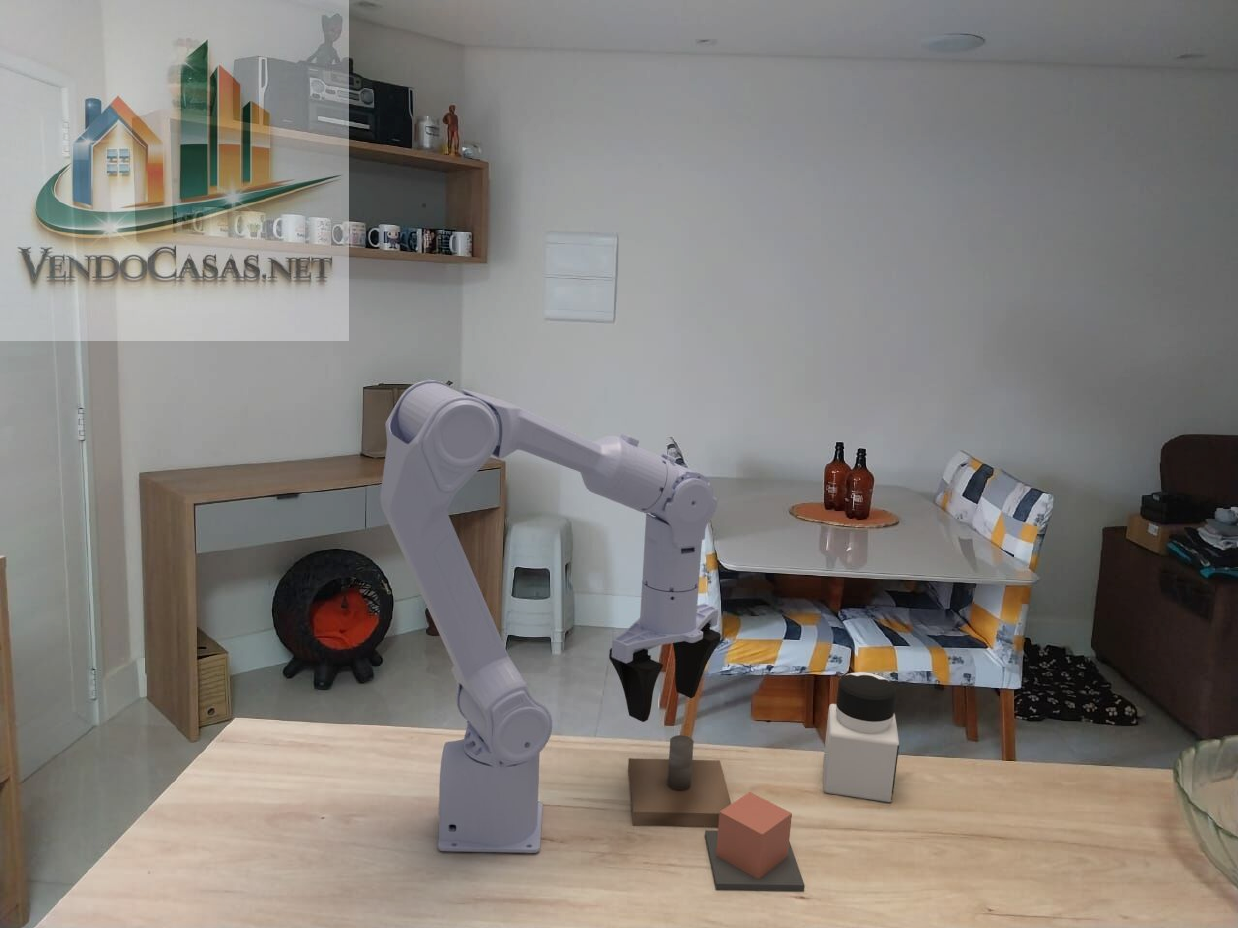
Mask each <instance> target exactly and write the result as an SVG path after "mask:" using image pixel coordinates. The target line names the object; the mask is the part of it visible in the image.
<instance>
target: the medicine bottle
mask: <svg viewBox="0 0 1238 928" xmlns="http://www.w3.org/2000/svg"><path fill="white" fill-rule="evenodd" d="M897 692H898V691H897V688H896V687H895V685H894V683H893V682H892V681H890V680H889V679H887V678H885V677H884V676H881V675H879V674H876V673H873V672H867V671H865V672H864V671H860V672H859V671H858V672H857V671H856V672H851V673H847V674H844V675H843V676H842V677H841V678H840V679H839V681H838V685H837V694H836V703H831V704H829V707H828V713H827V714H828V715H827V722H826V723H827V724H826V732H825V741H824V752H823V791H824V793H826V794H832V795H839V796H844V797H851V798H857V799H865V800H871V801H876V802H877V801H878V802H884V803H890V802H892V801H893V797H894V789H895V788H894V787H895V781H896V780H895V779H896V775H897V774H896V773H897V765H898V757H899V751H900V740H899V739H900V738H899V733H898V732H899V731H898V726H897V721H896V720H897V719H896V714H895V708H896V700H897ZM824 753H825V754H824Z"/></svg>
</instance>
